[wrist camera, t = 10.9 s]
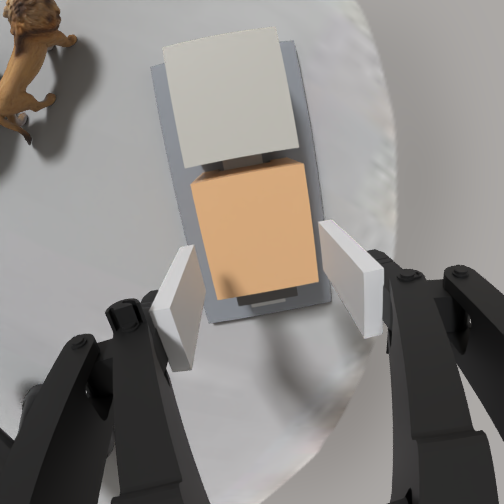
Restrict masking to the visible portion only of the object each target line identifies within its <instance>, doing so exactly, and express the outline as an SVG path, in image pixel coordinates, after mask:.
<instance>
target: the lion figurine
mask: <svg viewBox="0 0 504 504" xmlns="http://www.w3.org/2000/svg"><path fill="white" fill-rule="evenodd" d="M59 14H60V9H59V8H58V6H57V4H56V2H55V1H54V0H7V2H6V6H5V7H4V12H3V17H5V18H8V21H9V23H10V25H11V30H10V32H11V34H12V35H14V49H13V52H12V55H11V58H10V60H9V62H8V65H7V68H6V71H5V73H4V75H3V77H2V79H1V81H0V125H2V126H4V127H6V128H8V129H11V130H14V131H17V132H19V133H20V134H22V135H23V136H24V138H25V140H26V141H27V143H28V144H29V145H31V141H32V138H31V136H30V134H29V133H28V132H27V131H26V130H24V129H22V128H21V127H19V126H22V125H24V124H25V122H26V120H27V115H26V114H25V113H22V114H20V115H19V116H18V118H17V116H16V114H17V113H20V112H23V111H26V110H32V111H34V112H37V111H39V110H40V109H42V108H45V107H48V106H50V105H52V104H53V103H54V102H55V100H56V96H55V94H53V93H48V94H47V95H46V97H45V99H44V100H43V101H41V102H38V101H37V100H36V99H35V98H34V97H33V96H32V95H31V94H28V93H27V92H26V88H27V86H28V85H29V84H30V83H31V81H32V80H33V79H34V78H35V76H36V75H37V74H38V72H39V70H40V69H41V67H42V65H43V62H44V59H45V56H46V53H47V51H48V50H51V49H52V48H53V46H54V45H58V46H62V47H70V46H72V45H74V44H75V43H76V41H77V37H76V36H75V35H69V36H68V37H66V36H65V35H64V34H63V33H62V32H60V31H58V28H59V24H60V21H61V17H60V16H59ZM5 117H7V119H8V120H7V119H5Z"/></svg>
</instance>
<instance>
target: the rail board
mask: <svg viewBox="0 0 504 504" xmlns="http://www.w3.org/2000/svg"><path fill="white" fill-rule="evenodd" d="M162 49H163V55H164V61H165V63H163V64H159V65H156V66H152V67H151V73H152V79H153V85H154V91H155V97H156V102H157V108H158V113H159V118H160V124H161V129H162V134H163V139H164V144H165V149H166V154H167V158H168V163H169V168H170V172H171V177H172V181H173V186H174V190H175V195H176V199H177V203H178V208H179V212H180V216H181V220H182V225H183V229H184V233H185V237H186V241H187V245H194V246H195V250H196V254H197V258H198V262H199V266H200V270H201V274H202V278H203V282H204V285H205V289H206V294H205V299H204V308H205V312H206V315H207V319H208V322H209V323H216V322H222V321H228V320H235V319H241V318H246V317H252V316H258V315H264V314H269V313H275V312H280V311H285V310H291V309H296V308H301V307H306V306H311V305H316V304H321V303H326V302H331V290H330V280H329V279H328V277H327V275H326V274H325V272H324V270H323V263H322V253H321V244H320V235H319V227H318V222H320V221H324V218H323V210H322V202H321V194H320V186H319V179H318V172H317V165H316V158H315V152H314V145H313V139H312V133H311V127H310V121H309V115H308V109H307V104H306V99H305V93H304V88H303V83H302V78H301V73H300V68H299V63H298V58H297V54H296V49H295V45H294V40H293V41H282V42H279V39H278V35H277V30H276V27H266V28H258V29H250V30H243V31H237V32H231V33H225V34H219V35H214V36H209V37H204V38H199V39H195V40H190V41H186V42H182V43H178V44H174V45H170V46H166V47H162ZM286 157H287V158H290V159H293V160H295V161H298V162H301V163H303V164H304V168H305V175H306V182H307V189H308V196H309V203H310V211H311V218H312V226H313V234H314V243H315V251H316V260H317V270H318V279H319V282H315V283H310V284H305V285H300V286H295V287H289V288H284V289H279V290H273V291H268V292H262V293H257V294H251V295H246V296H240V297H234V298H228V299H222V300H217V296H216V292H215V288H214V284H213V280H212V276H211V272H210V268H209V264H208V260H207V256H206V251H205V247H204V243H203V239H202V234H201V230H200V226H199V221H198V217H197V213H196V208H195V204H194V199H193V195H192V190H191V186H190V184H191V183H192V182H193V181H194V180H195V179H196V178H198V177H199V176H200V175H201V174H202V173H204V172H209V171H213V170H218V169H219V170H220V171H224V170H229V169H234V168H239V167H245V166H250V165H256V164H262V163H268V162H270V160H273V159H280V158H286Z"/></svg>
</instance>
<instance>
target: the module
mask: <svg viewBox="0 0 504 504" xmlns="http://www.w3.org/2000/svg"><path fill="white" fill-rule="evenodd" d="M190 186H191V190H192V195H193V199H194V204H195V208H196V213H197V217H198V221H199V226H200V230H201V234H202V239H203V243H204V247H205V251H206V256H207V260H208V264H209V268H210V272H211V276H212V280H213V284H214V288H215V292H216V296H217V300H222V299H228V298H234V297H240V296H246V295H251V294H257V293H262V292H268V291H273V290H279V289H284V288H289V287H295V286H300V285H305V284H310V283H315V282H319V279H318V270H317V260H316V251H315V243H314V234H313V226H312V218H311V211H310V203H309V196H308V189H307V182H306V175H305V168H304V164H303V163H301V162H298V161H295V160H293V159H290V158H287V157H286V158H280V159H273V160H270V162H268V163H262V164H256V165H250V166H245V167H239V168H234V169H229V170H224V171H220V170H219V169H218V170H213V171H209V172H204V173H202V174H201V175H200V176H199V177H198V178H196V179H195V180H194V181H193V182H192V183H191V184H190Z"/></svg>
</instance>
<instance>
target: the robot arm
mask: <svg viewBox="0 0 504 504" xmlns="http://www.w3.org/2000/svg"><path fill="white" fill-rule="evenodd" d="M318 227H319V235H320V244H321V253H322V263H323V270H324V272H325V274H326V275H327V277H328V279H329V280H330V282H331V283H332V285H333V287H334V288H335V290H336V292H337V293H338V295H339V297H340V298H341V300H342V302H343V303H344V305H345V307H346V308H347V310H348V312H349V314H350V315H351V317H352V319H353V320H354V322H355V324H356V325H357V327H358V329H359V331H360V332H361V334H362V336H363V337H364V339H365V338H369V337H373V336H377V335H381V334H383V321H384V323H385V324H386V325H387V327H388V337H387V351H386V353H387V354H389V360H390V371H391V387H392V409H393V477H392V494H391V500H390V503H388V504H499V501H498V494H497V486H496V479H495V473H494V467H493V461H492V456H491V451H490V446H489V442H488V439H487V436H486V434H485V433H484V432H483V431H482V430H481V431H475V430H474V428H473V426H472V421H471V417H470V413H469V408H468V404H467V400H466V396H465V392H464V388H463V385H462V381H461V378H460V374H459V371H458V367H457V365H458V366H459V368H460V369H461V371H462V372H463V374H464V375H465V377H466V379H467V380H468V382H469V383H470V385H471V386H472V388H473V390H474V391H475V393H476V395H477V396H478V398H479V399H480V401H481V403H482V404H483V406H484V408H485V409H486V411H487V413H488V415H489V416H490V418H491V419H492V421H493V423H494V425H495V427H496V428H497V430H498V432H499V434H500V436H501V437H502V439H503V441H504V295H503V294H502V293H501V292H499V290H497V289H496V288H495V287H494V286H493V285H492V284H490V283H489V282H488V281H487V280H486V279H484V278H483V277H482V276H481V275H480V274H478V273H477V272H476V271H475V270H473V269H471V268H469V267H466V266H464V265H461V266H460V265H456V266H451V267H448V268H446V269H445V270H444V279H442V280H426V279H425V276H424V275H423V274H422V273H421V272H419V271H417V270H413V269H402V268H401V267H400V266H399V265H397V264H396V263H395V262H393V260H392V259H391V258H389V257H388V256H387V255H386V254H385V253H384V252H381V251H378V250H375V249H374V250H369V251H366V250H364V249H363V248H362V247H361V246H360V245H359V244H358V243H357V242H356V241H355V240H354V239H353V238H352V237H351V236H350V235H348V234H347V233H346V232H345V231H344V230H343V229H342V228H341V227H340V226H339V225H338V224H336V223H335V222H334V221H333V220H332V219H331V220H325V221H320V222H318ZM205 294H206V289H205V285H204V282H203V278H202V274H201V270H200V266H199V262H198V258H197V254H196V250H195V246H194V245H188V246H183V247H180V248H179V250H178V252H177V254H176V256H175V258H174V260H173V262H172V264H171V266H170V268H169V270H168V272H167V274H166V276H165V278H164V280H163V282H162V285H161V287H160V289H159V290H154V291H150V292H149V293H148V294H147V295H145V296H144V297H143V299H142V301H141V303H140V302H139V300H137V299H125V300H121V301H119V302H116V303H114V304H113V305H111V306H110V307H109V308H108V309H107V310H106V312H105V314H106V316H107V319H108V321H109V323H110V326H111V328H112V330H113V338H112V339H110V340H106V341H103V342H100V343H97V342H96V340H95V338H94V336H93V335H91V334H82V335H77V336H76V337H73V338H72V339H71V340H69V341H68V342H67V343H66V345H65V346H64V348H63V349H62V351H61V353H60V354H59V356H58V358H57V360H56V361H55V363H54V365H53V367H52V369H51V370H50V372H49V374H48V376H47V378H46V379H45V381H44V383H43V384H40V385H36V386H34V387H32V388H31V389H30V391H29V392H28V394H27V395H26V397H25V399H24V401H23V406H22V415H21V419H20V425H19V431H18V434H17V436H16V438H15V440H13V439H12V438H11V437H10V436H9V435H8V434H6V433H5V432H4V431H3V430H2V429H1V428H0V504H98V498H99V492H100V487H101V482H102V477H103V472H104V467H105V462H106V458H107V457H108V456H109V455H110V454H111V452H112V450H113V447H114V443H115V444H116V455H117V466H118V475H119V483H120V495H119V496H118V497H113V498H112V500H111V504H210V502H209V499H208V497H207V494H206V491H205V489H204V486H203V483H202V481H201V478H200V475H199V472H198V469H197V466H196V464H195V461H194V458H193V455H192V452H191V449H190V446H189V442H188V439H187V436H186V433H185V430H184V426H183V423H182V420H181V416H180V413H179V410H178V406H177V403H176V399H175V395H174V392H173V388H172V384H171V381H170V377H169V375H168V372H167V370H166V367H167V363H168V362H169V364H170V367H171V369H172V372H178V371H188V370H192V366H193V360H194V354H195V349H196V343H197V337H198V332H199V326H200V321H201V315H202V310H203V305H204V299H205ZM470 319H471V323H470ZM456 363H457V364H456ZM86 391H87V394H86ZM113 427H114V429H115V431H114V429H113Z"/></svg>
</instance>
